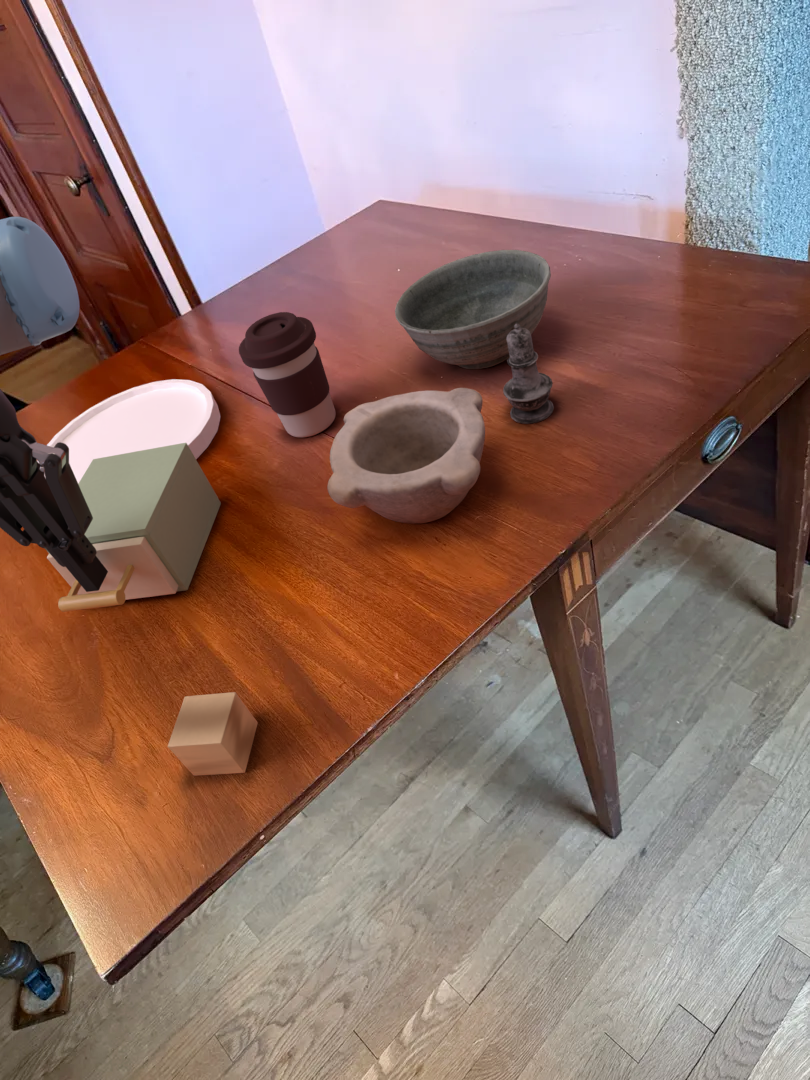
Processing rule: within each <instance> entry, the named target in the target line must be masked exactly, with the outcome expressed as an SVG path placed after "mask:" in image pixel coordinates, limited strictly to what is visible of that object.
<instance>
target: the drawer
mask: <svg viewBox="0 0 810 1080" xmlns="http://www.w3.org/2000/svg"><path fill="white" fill-rule="evenodd" d="M91 544H92V545H93V546H94V548H95V549H96V552H97V554H96V557H97V558H98V559H99V560H100V562H101V563H102V564H103V566H104V567H105V568H106V569H107V571H108V573H107V575H106V577H105V579H104V581H103V583H102V585H101V587H100V589H99V590H98V591H91V592H86V591H85V590H84V588H83V587H82V586H81V585H80V584H79V582H78V581H77V580H76V579H75V578H74V576H73V575H72V574H71V573H70V572H69V570H68V569H67V568H66V567H62V566H61V565H59V564H58V563H57V561H56V560H55V559H54V557H52V555H51V554H50V553H48V554H47V556H46V559H47V560H48V561H49V563H50V564H51V565H52V566H53V568H54V569H55V570H56V571H57V572H58V573H59V575H60V576H61V577H62V578H63V579H64V580H65V581H66V583H67V584H68V585H69V587H71V588H70V590H69V591H68V593H67V595H66V596H61V597H60V598H59V599H58V602H57V606H58V610H60V611H61V612H62V613H66V612H74V611H84V610H91V609H98V608H108V607H115V606H123V605H124V604H125V602H126V600H136V599H142V598H143V599H144V598H150V597H159V596H167V595H175V594H176V593H177V592H178V591H177V589H178V584H177V583H176V581H175V580H174V578H173V577H172V575H171V574H170V573H169V571H168V570H167V568H166V567H165V565H164V564H163V563H162V561H161V560H160V558H159V557H158V555H157V554H156V553H155V551H154V550H153V548H152V547H151V545H150V544H149V542H148V541H147V540H146V538H145V537H144V536H143V537H142V536H136V537H130V538H123V539H116V540H110V541H103V542H96V543H91ZM176 591H177V592H176Z"/></svg>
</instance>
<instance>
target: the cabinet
mask: <svg viewBox="0 0 810 1080" xmlns="http://www.w3.org/2000/svg"><path fill="white" fill-rule="evenodd" d="M78 485H79V487H80V489H81V491H82V494H83V496H84V498H85V501H86V503H87V505H88V507H89V510H90V512H91V514H92V517H93V520H92V522H91V523H90V525H89V527H88V529H87V531H86V533H85V534H84V535H85V536H86V537H87V538H88V540H89V541H90V543H96V542H103V541H110V540H116V539H123V538H130V537H136V536H142V537H143V536H144V537H145V538H146V540H147V541H148V542H149V544H150V545H151V547H152V548H153V550H154V551H155V553H156V554H157V555H158V557H159V558H160V560H161V561H162V563H163V564H164V565H165V567H166V568H167V570H168V571H169V573H170V574H171V575H172V577H173V578H174V580H175V581H176V583H177V584H178V589H177V591H176V593H178V592H184V591H188V590H189V587H190V585H191V582H192V579H193V577H194V575H195V572H196V569H197V566H198V564H199V561H200V559H201V556H202V553H203V552H204V551H203V550H204V549H205V546H206V543H207V541H208V538H209V535H210V533H211V531H212V528H213V525H214V523H215V520H216V517H217V515H218V512H219V510H220V507H221V505H222V503H221V500H220V498H219V496H218V495H217V493H216V491H215V490H214V488H213V486H212V485H211V483H210V481H209V479H208V478H207V476H206V474H205V472H204V471H203V469H202V468H201V465H200V463H199V462H198V461H197V459H195V457H194V455H193V453H192V452H191V450H190V449H189V446H188V445H187V443H181V444H175V445H170V446H164V447H159V448H153V449H148V450H142V451H136V452H131V453H125V454H120V455H114V456H109V457H103V458H98V459H93V460H92V462H91V464H90V465H89V467H88V469H87V470H86V472H85V474H84V475H83V477H82V478H81V480H80V482H79V483H78ZM44 549H45V550H46V552H47V553H48V554H49V552H48V551H47V549H46V548H44Z"/></svg>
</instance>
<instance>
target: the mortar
mask: <svg viewBox="0 0 810 1080" xmlns="http://www.w3.org/2000/svg"><path fill="white" fill-rule="evenodd" d="M483 404H484V403H483V396H482V394H481V393H480V392H479V391H477V390H476V389H473V388H468V387H457V388H454V389H451V390H448V391H445V390H431V389H430V390H427V389H426V390H418V391H411V392H406V393H400V394H395V395H390V396H387V397H383V398H380V399H377V400H374V401H370V402H369V401H368V402H364V403H362V404H359V405H356V407H354V408H352V409H350V410H349V411H348V412H346V413H345V414H344V417H343V423H344V424H343V426H342V427H341V428H340V430H339V431H338V432H337V433H336V434H335V436H334V439H333V441H332V444H331V447H330V452H329V462H330V468H331V472H332V474H331V476H330V477H329V479H328V481H327V487H326V489H327V493H328V495H329V497H330V499H332V501H333V502H335V503H336V504H338V505H340V506H342V507H345V508H349V509H356V508H360V507H364V506H365V507H366V508H368V509H370V510H371V511H373V512H375V513H376V514H378V515H379V516H381V517H383V518H385V519H388V520H391V521H393V522H397V523H402V524H414V525H415V524H427V523H430V522H434V521H437V520H439V519H442V518H443V517H445V516H447V515H449V514H450V513H451V512H452V511H453V510H454V509H455V508H457V507H458V506H459V505H460V504H461V503H462V502H463V501H464V499H465V498H466V496H467V495H468V493H469V491H470V490H471V489H472V488H473V487H474V486H475V484H476V482H477V481H478V478H479V477H480V476H479V475H480V473H481V464H480V463H481V460H482V457H483V451H484V447H485V440H486V439H485V438H486V426H485V421H484V417H483V414H482V408H483Z"/></svg>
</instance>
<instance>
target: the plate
mask: <svg viewBox="0 0 810 1080" xmlns="http://www.w3.org/2000/svg"><path fill="white" fill-rule="evenodd" d="M215 399H216V398H214V395H213V394H212V391H210V390H209V389H208V388H207V387H206V386H205V385H204V384H203V383H201V382H196V381H194V380H190V379H176V378H171V379H165V380H164V379H163V380H156V381H151V382H148V383H143V384H140V385H137V386H134V387H131V388H129V389H126V390H123V391H121V392H119V393H117V394H113V395H111V396H110V397H107V398H105V399H103V400H102V401H99V402H98V403H97V404H95V405H93V406H91V407H89V408H87V409H86V410H85V411H83V412H82V413H81V414H79V415H78V416H76V417H74V418H73V419H71V421H69V422H68V423H67V424H66V425H65V426H64V427H63V428H61V429H60V430H59V431H58V432H57V433H56V434H55V435H53V437H52V438H51V439H50V441H49V442H48V443H47V444H46V445H47V446H50V447H54V446H55V445H56V444H57V443H59V442H61V443H64V444H66V445H67V446H68V447H69V464H70V466H71V469H72V471H73V473H74V476H75V478H76V480H77V482H78V483H79V482H80V480H81V478H82V477H83V475H84V474H85V472H86V470H87V469H88V467H89V465H90V464H91V462H92V460H93V459H98V458H103V457H109V456H114V455H120V454H125V453H131V452H136V451H142V450H148V449H153V448H159V447H164V446H170V445H175V444H181V443H187V445H188V446H189V449H190V450H191V452H192V453H193V455H194V457H195V459H196V460H197V459H199V458H200V456H201V455H202V454H203V453H204V452H205V451H206V450H207V448H208V447H209V446H210V444H211V443H212V441H213V439H214V438H215V436H216V434H217V433H218V431H219V427H220V422H221V412H220V410H219V409H220V408H219V405H218V403H217V401H216V400H215ZM37 462H38V460H37ZM38 463H39V462H38ZM44 476H45V472H44ZM45 478H46V477H45Z"/></svg>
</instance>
